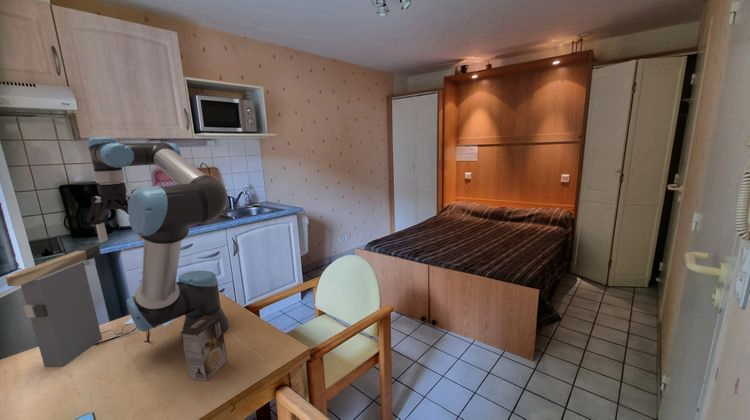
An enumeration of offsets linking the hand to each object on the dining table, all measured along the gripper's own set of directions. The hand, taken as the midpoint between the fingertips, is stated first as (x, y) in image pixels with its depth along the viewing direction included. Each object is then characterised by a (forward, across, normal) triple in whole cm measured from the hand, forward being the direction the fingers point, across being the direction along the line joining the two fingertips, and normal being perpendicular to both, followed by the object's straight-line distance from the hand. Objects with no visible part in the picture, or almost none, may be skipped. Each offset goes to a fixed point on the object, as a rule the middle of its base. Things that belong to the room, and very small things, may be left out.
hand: (123, 240), depth 111 cm
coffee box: (+35, -39, +26) cm, 58 cm away
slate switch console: (+35, +12, +15) cm, 40 cm away
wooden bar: (+5, +12, +12) cm, 18 cm away
